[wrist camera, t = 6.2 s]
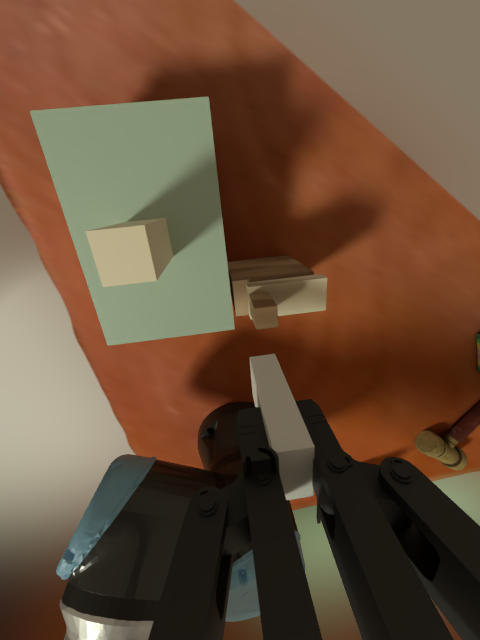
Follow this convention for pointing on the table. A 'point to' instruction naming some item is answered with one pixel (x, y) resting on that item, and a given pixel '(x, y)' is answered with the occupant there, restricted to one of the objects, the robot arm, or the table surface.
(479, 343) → the chalk box
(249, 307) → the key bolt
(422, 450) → the gavel
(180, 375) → the table surface
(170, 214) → the lid
